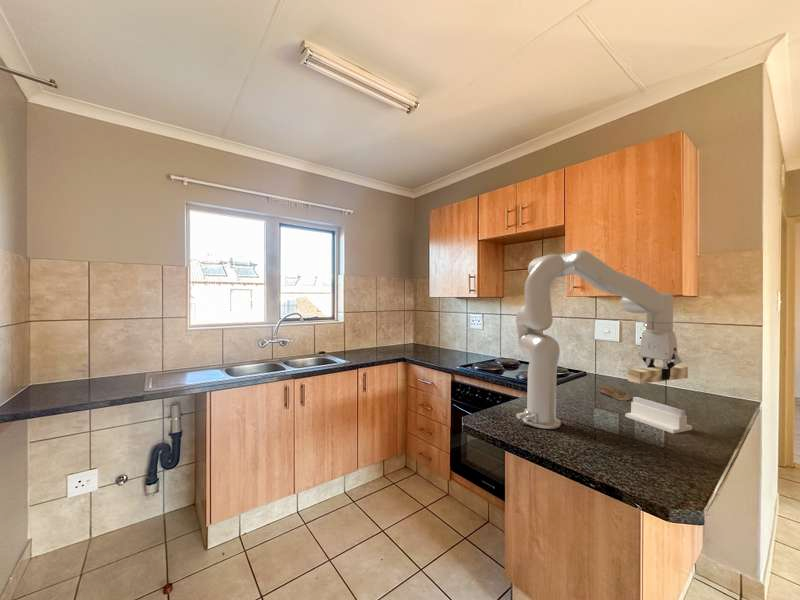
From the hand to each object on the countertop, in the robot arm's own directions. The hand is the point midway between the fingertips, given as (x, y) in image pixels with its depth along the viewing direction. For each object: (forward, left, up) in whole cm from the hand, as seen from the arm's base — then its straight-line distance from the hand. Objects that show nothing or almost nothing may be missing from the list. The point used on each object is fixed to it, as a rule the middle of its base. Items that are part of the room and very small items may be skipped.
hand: (658, 377), depth 118 cm
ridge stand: (0, 0, -16) cm, 16 cm away
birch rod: (0, 0, -1) cm, 1 cm away
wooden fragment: (+20, +32, -17) cm, 41 cm away
